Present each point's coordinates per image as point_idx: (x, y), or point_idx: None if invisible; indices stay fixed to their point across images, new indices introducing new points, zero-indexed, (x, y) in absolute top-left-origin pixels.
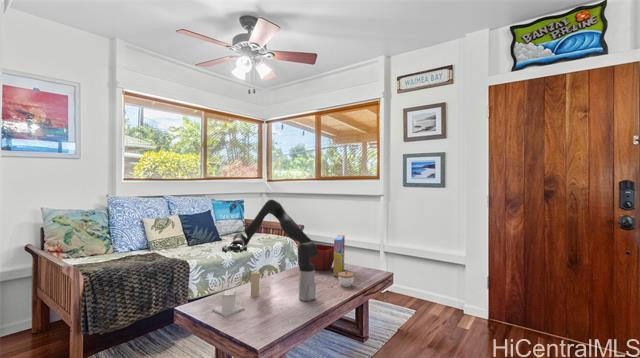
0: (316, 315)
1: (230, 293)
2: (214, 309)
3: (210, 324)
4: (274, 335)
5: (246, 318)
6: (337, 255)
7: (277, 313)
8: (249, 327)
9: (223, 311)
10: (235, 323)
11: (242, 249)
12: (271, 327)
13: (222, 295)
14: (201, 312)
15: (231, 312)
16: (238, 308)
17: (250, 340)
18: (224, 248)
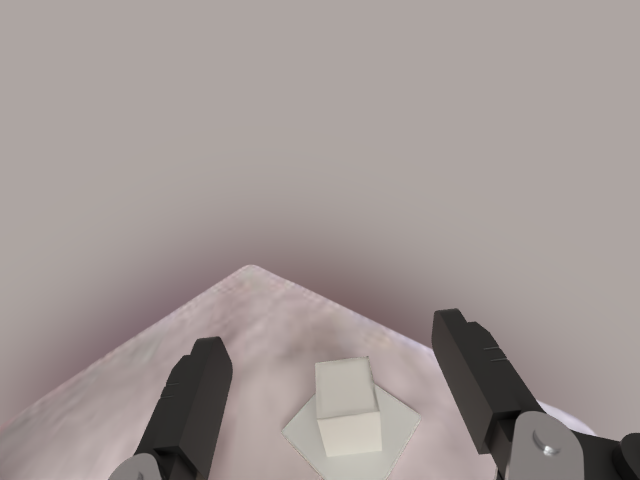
0: (49, 393)
1: (335, 383)
2: (406, 406)
3: (371, 322)
4: (213, 294)
5: (272, 361)
6: None
7: None
8: (264, 317)
9: None
10: (302, 331)
11: (177, 365)
12: (210, 321)
13: (365, 357)
14: None
15: None
16: (306, 420)
17: (263, 278)
18: (564, 427)
